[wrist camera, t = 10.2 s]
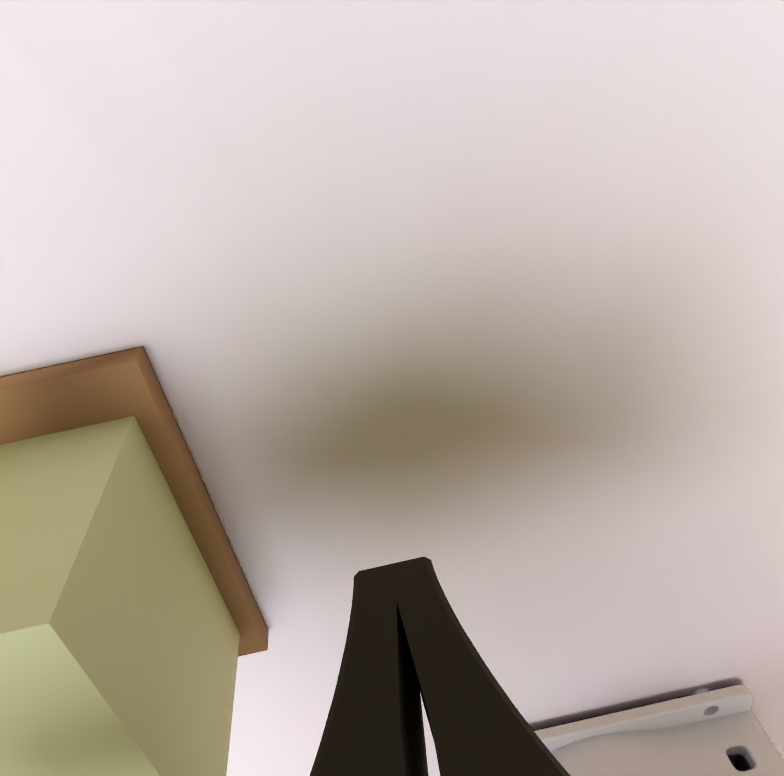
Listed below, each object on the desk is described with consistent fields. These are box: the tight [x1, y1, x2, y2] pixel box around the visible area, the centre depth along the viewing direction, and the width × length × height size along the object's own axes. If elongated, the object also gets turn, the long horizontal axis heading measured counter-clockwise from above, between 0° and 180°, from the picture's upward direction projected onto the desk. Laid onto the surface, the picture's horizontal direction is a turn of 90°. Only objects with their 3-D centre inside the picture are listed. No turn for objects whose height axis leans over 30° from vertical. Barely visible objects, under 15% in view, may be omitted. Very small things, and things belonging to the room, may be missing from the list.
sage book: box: [0, 416, 240, 776], centre depth 12 cm, size 4×7×5 cm, turn 10°
